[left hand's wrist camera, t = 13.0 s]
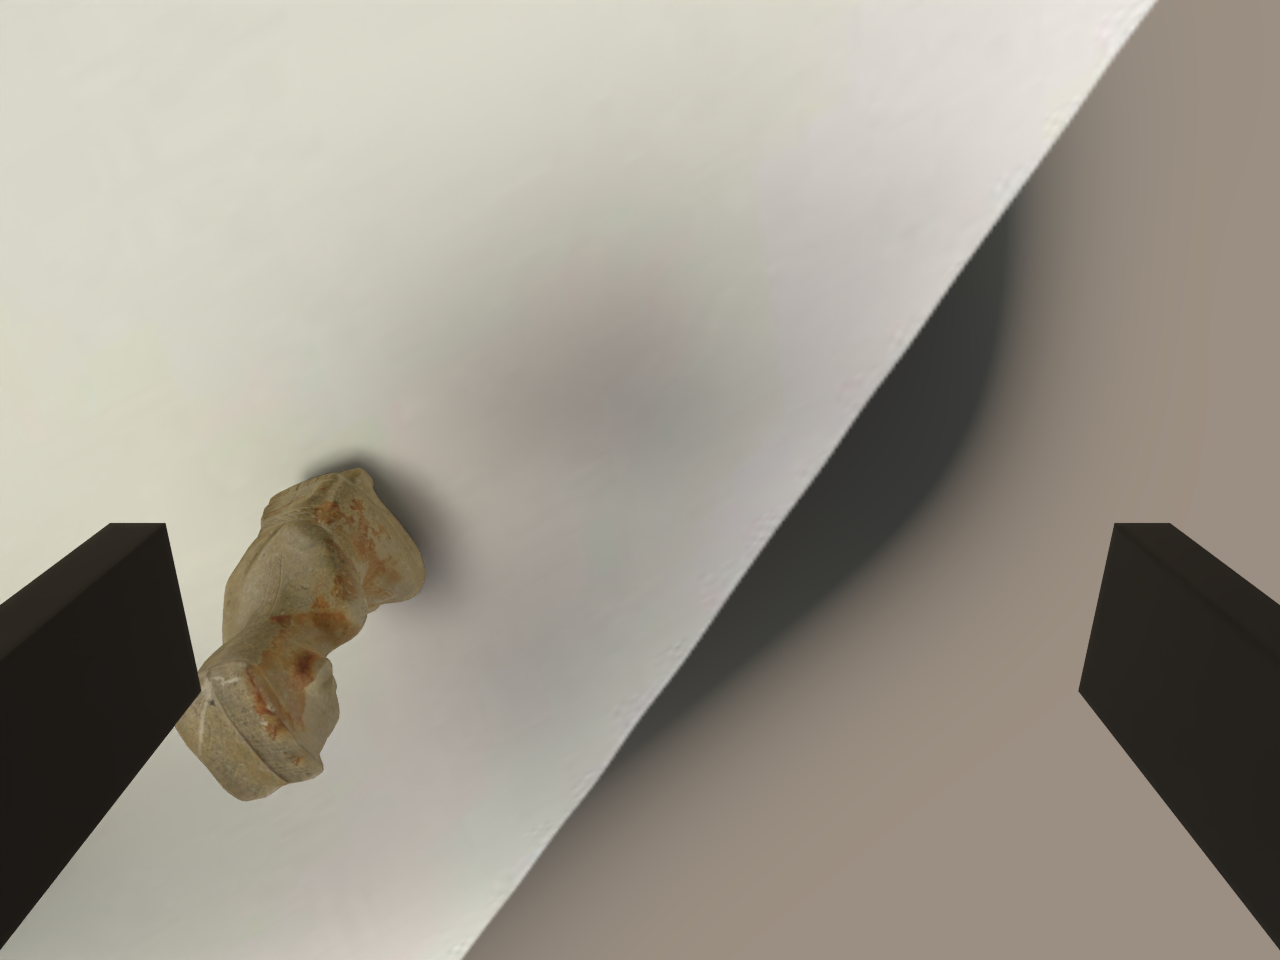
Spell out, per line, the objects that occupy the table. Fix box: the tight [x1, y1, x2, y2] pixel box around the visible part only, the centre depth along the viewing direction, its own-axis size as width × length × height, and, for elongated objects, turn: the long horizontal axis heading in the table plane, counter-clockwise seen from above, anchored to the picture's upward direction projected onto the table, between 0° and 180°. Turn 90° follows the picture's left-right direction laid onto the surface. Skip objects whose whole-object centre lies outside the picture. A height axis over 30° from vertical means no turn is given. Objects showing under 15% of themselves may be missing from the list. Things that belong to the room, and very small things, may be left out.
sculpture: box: [175, 468, 425, 801], centre depth 35 cm, size 6×7×15 cm
